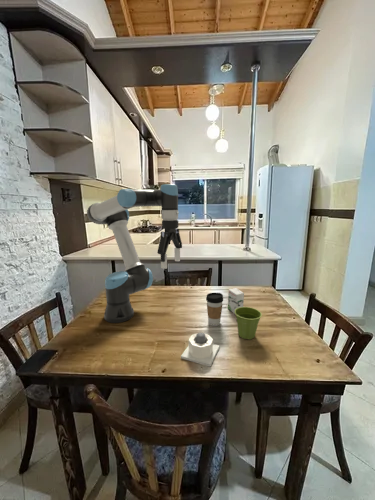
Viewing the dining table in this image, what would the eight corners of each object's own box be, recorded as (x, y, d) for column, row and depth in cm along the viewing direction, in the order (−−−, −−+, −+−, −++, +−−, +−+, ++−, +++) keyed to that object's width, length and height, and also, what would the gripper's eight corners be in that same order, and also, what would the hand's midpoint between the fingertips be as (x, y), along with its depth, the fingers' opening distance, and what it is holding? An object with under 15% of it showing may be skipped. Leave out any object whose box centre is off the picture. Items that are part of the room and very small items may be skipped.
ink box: (227, 308, 132) (227, 288, 129) (234, 306, 134) (235, 287, 131) (235, 314, 124) (236, 294, 122) (243, 313, 126) (244, 292, 124)
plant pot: (256, 346, 97) (257, 321, 95) (229, 337, 103) (230, 314, 101) (263, 332, 107) (264, 310, 105) (238, 325, 113) (239, 304, 111)
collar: (186, 354, 91) (185, 343, 90) (194, 342, 99) (194, 331, 98) (207, 360, 87) (207, 348, 86) (214, 347, 95) (214, 336, 94)
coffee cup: (222, 327, 112) (222, 298, 108) (204, 326, 113) (205, 297, 110) (223, 319, 120) (223, 292, 116) (206, 317, 121) (207, 290, 118)
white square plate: (181, 358, 90) (180, 339, 89) (192, 341, 101) (192, 324, 99) (210, 366, 86) (210, 347, 84) (219, 348, 96) (219, 330, 95)
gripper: (163, 222, 92) (165, 272, 97) (188, 217, 115) (188, 259, 119) (147, 221, 95) (150, 270, 100) (174, 217, 118) (175, 257, 122)
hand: (171, 264), depth 109 cm, fingers open, 13 cm apart
